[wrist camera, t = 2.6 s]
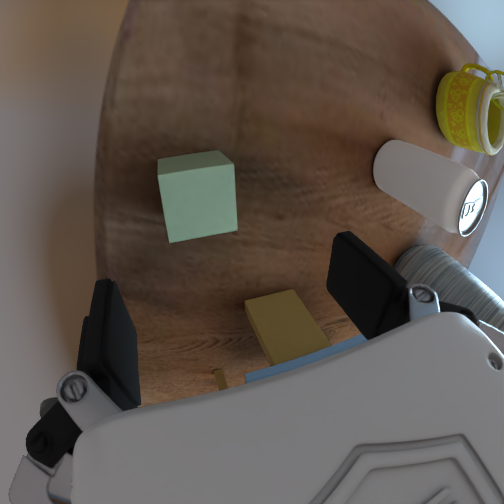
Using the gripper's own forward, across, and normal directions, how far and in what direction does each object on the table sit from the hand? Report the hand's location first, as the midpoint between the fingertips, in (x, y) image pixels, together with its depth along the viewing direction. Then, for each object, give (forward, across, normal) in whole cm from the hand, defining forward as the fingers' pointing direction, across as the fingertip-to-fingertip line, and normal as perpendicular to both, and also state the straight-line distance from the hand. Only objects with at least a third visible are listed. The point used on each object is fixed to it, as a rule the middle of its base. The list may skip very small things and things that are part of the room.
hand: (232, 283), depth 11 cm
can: (+14, -22, 0) cm, 26 cm away
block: (+14, 0, 0) cm, 14 cm away
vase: (+14, -31, +17) cm, 38 cm away
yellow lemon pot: (+14, -34, -10) cm, 38 cm away
